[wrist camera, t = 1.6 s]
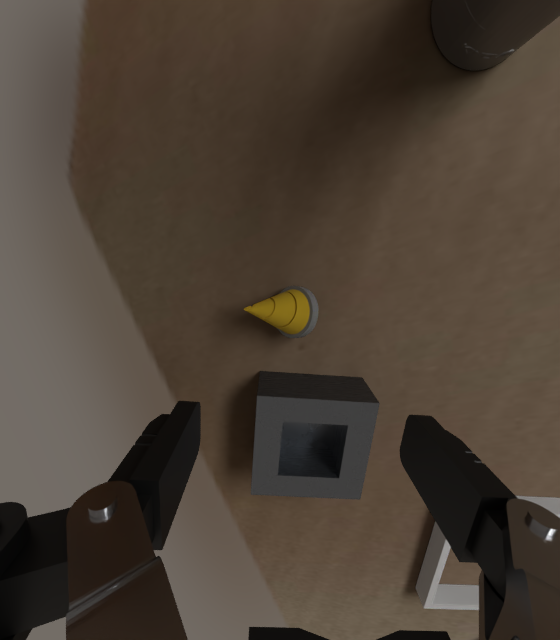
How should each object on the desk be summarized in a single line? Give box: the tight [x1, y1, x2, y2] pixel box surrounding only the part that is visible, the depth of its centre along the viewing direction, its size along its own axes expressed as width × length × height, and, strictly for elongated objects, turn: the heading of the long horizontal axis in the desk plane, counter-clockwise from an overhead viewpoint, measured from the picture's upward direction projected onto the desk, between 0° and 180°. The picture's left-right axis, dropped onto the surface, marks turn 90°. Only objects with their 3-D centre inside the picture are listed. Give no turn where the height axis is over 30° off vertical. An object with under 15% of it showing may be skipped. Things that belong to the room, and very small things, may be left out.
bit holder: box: [251, 371, 379, 499], centre depth 31 cm, size 12×12×6 cm
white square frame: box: [415, 496, 560, 610], centre depth 39 cm, size 19×17×2 cm
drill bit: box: [244, 286, 318, 338], centre depth 27 cm, size 5×5×10 cm
